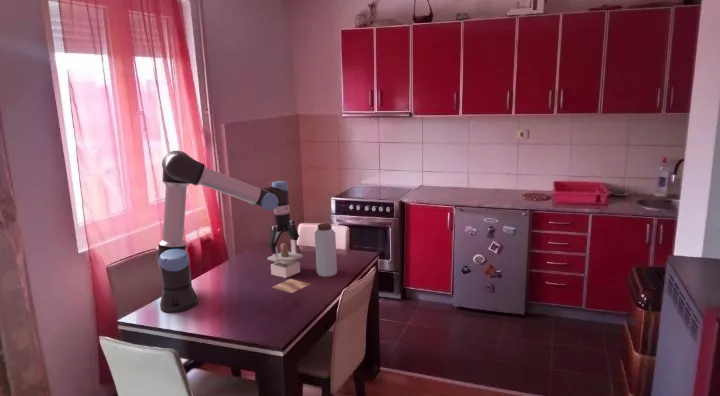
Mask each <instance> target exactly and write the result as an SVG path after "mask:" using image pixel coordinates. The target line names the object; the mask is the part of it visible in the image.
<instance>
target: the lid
mask: <svg viewBox="0 0 720 396" xmlns="http://www.w3.org/2000/svg"><path fill="white" fill-rule="evenodd" d="M301 258H304V257H303V254H302V253H301V254H300V253H297V252H296V253H292V252H291V251H289V244H288V243H287V242H283V243H280V252H278V260H273V255H271V256H268V257H267V260H268V261H271V262H274V263H276V262H279V263H283V264H287V263H289V262H291V261H297V260H299V259H301Z"/></svg>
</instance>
